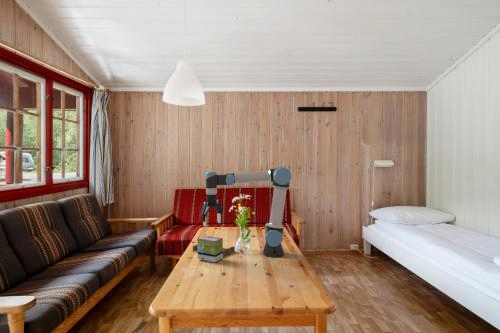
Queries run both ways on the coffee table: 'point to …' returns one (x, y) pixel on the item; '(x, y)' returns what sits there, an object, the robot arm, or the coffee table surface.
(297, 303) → the coffee table surface
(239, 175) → the robot arm
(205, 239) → the tea box
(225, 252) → the caddy
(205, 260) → the trivet
